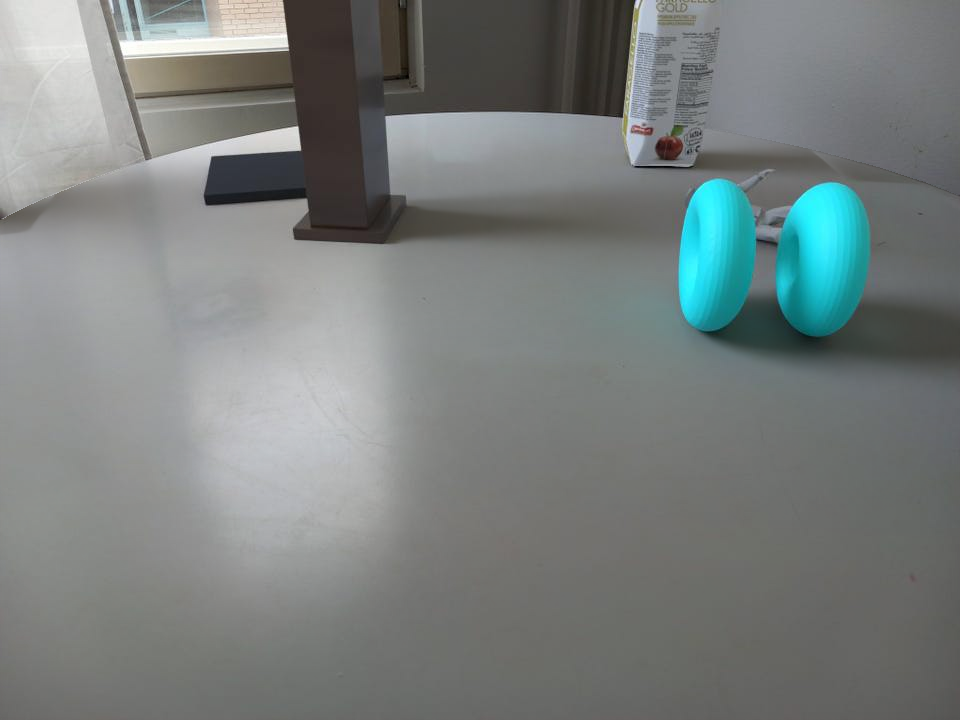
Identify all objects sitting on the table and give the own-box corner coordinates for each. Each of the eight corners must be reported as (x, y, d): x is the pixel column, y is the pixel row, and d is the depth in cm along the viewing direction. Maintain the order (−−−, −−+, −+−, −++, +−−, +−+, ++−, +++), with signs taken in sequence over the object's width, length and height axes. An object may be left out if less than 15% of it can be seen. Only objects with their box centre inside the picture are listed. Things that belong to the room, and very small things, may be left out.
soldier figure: (805, 278, 60) (672, 213, 63) (788, 294, 65) (665, 233, 67) (849, 198, 61) (716, 137, 63) (828, 220, 66) (705, 162, 68)
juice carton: (702, 170, 83) (732, -21, 73) (624, 169, 83) (644, -22, 73) (688, 151, 89) (715, -26, 79) (616, 150, 89) (634, -27, 80)
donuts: (849, 366, 47) (895, 214, 42) (688, 357, 48) (713, 208, 43) (806, 296, 55) (840, 163, 50) (670, 290, 56) (689, 159, 51)
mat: (213, 164, 84) (211, 156, 84) (302, 158, 86) (301, 150, 86) (205, 205, 72) (203, 195, 72) (309, 197, 75) (308, 187, 74)
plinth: (327, 201, 73) (285, -185, 57) (406, 205, 73) (386, -186, 57) (293, 239, 65) (233, -203, 49) (383, 243, 64) (352, -204, 48)
